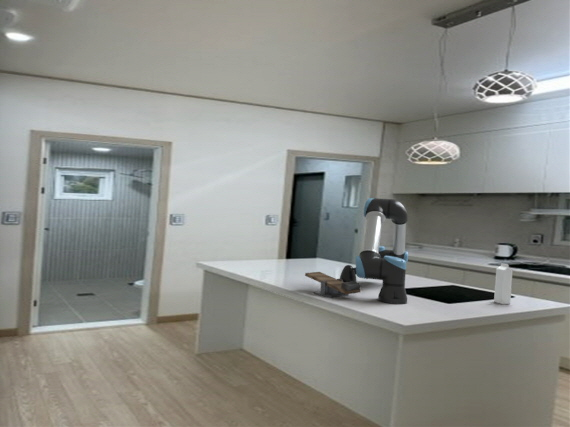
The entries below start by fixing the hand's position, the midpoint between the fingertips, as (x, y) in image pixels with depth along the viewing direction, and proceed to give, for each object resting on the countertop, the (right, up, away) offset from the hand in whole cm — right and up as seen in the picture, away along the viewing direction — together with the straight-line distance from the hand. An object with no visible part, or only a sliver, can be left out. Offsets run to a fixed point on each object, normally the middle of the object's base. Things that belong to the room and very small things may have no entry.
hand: (355, 275), depth 281 cm
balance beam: (-16, -2, -21) cm, 27 cm away
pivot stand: (-17, -8, -21) cm, 28 cm away
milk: (+79, -14, -16) cm, 82 cm away
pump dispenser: (-6, -8, -8) cm, 13 cm away
